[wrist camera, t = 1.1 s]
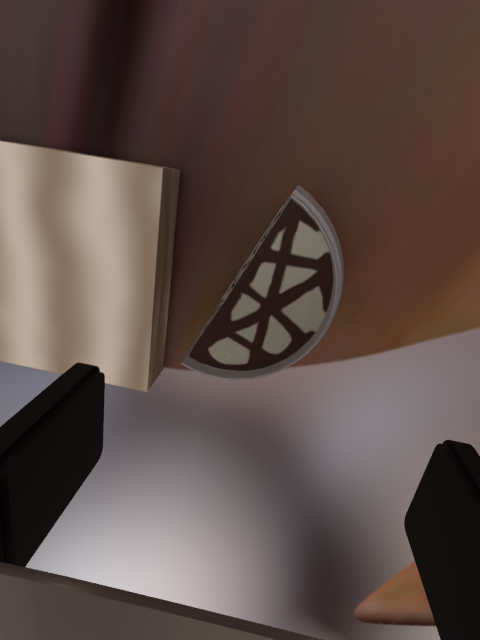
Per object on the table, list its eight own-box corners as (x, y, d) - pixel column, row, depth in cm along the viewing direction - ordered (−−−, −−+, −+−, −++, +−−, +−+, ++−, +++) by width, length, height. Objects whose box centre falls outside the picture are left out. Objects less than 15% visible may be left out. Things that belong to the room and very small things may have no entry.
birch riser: (180, 169, 28) (162, 167, 24) (163, 368, 34) (147, 391, 30) (4, 140, 29) (-39, 134, 25) (19, 339, 35) (-14, 357, 31)
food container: (271, 353, 32) (262, 424, 23) (211, 314, 32) (176, 370, 22) (365, 230, 28) (401, 256, 18) (296, 182, 27) (298, 184, 18)
